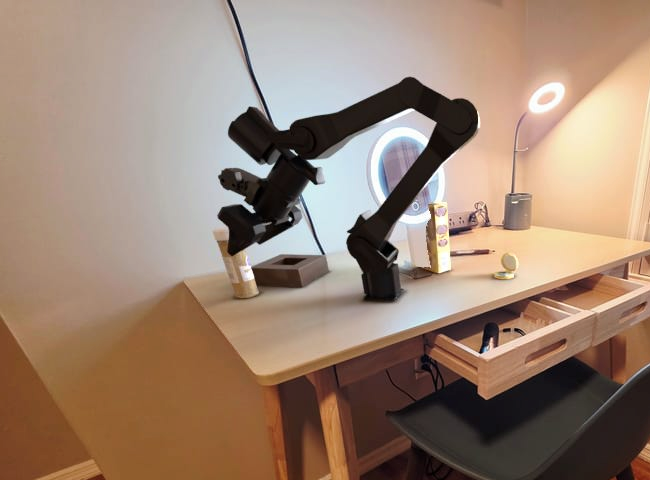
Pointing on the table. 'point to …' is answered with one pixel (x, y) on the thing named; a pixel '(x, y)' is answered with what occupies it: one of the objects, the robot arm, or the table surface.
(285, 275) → the holder
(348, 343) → the table surface
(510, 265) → the eyeshadow
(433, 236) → the candy box
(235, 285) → the sprinkles bottle
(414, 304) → the table surface
